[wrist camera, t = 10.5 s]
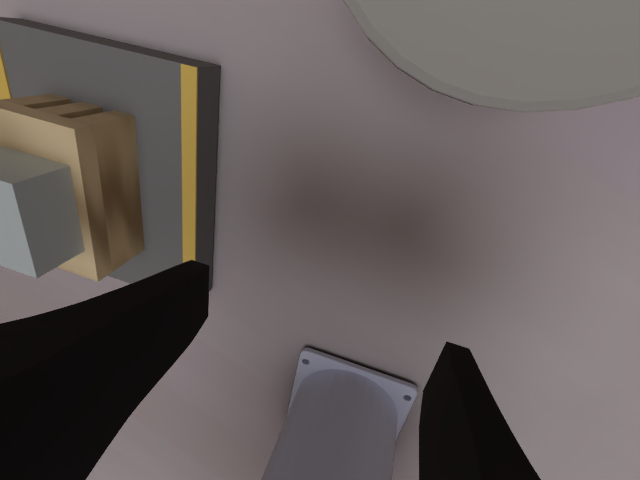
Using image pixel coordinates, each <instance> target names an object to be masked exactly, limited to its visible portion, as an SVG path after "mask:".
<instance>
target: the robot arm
mask: <svg viewBox="0 0 640 480" xmlns="http://www.w3.org/2000/svg"><path fill="white" fill-rule="evenodd" d="M208 303H209V265H206V264H203V263H200V262H197V261H194V260H190V261H187V262H184V263H181V264H179V265H176V266H174V267H171V268H169V269H166V270H164V271H162V272H159V273H157V274H154V275H152V276H149V277H147V278H144V279H142V280H139V281H137V282H134V283H132V284H129V285H127V286H124V287H122V288H119V289H116V290H114V291H111V292H108V293H105V294H102V295H100V296H97V297H94V298H91V299H89V300H86V301H83V302H80V303H77V304H74V305H70V306H67V307H64V308H60V309H57V310H53V311H50V312H46V313H43V314H39V315H36V316H32V317H28V318H23V319H19V320H15V321H10V322H6V323H2V324H0V480H86V478H87V477H88V475H89V474H90V472H91V471H92V469H93V468H94V466H95V465H96V463H97V462H98V460H99V459H100V457H101V456H102V454H103V453H104V451H105V450H106V448H107V447H108V446H109V444H110V443H111V441H112V440H113V439H114V437H115V436H116V434H117V433H118V431H119V430H120V429H121V427H122V426H123V424H124V423H125V422H126V420H127V419H128V417H129V416H130V415H131V414H132V412H133V411H134V410H135V409H136V407H137V406H138V405H139V403H140V402H141V401H142V400H143V399H144V398H145V396H146V395H147V394H148V393H149V392H150V391H151V389H152V388H153V387H154V386H155V385H156V384H157V382H158V381H159V380H160V379H161V378H162V377H163V375H164V374H165V373H166V372H167V371H168V370H169V368H170V367H171V366H172V365H173V364H174V363H175V361H176V360H177V359H178V358H179V357H180V355H181V354H182V353H183V352H184V351H185V350H186V348H187V347H188V346H189V345H190V343H191V342H192V340H193V339H194V337H195V336H196V335H197V333H198V332H199V330H200V328H201V327H202V325H203V324H204V322H205V320H206V319H207V317H208ZM305 359H307V360H308V361H307V360H305ZM417 393H418V389H417V387H416V386H415V385H414V384H412V383H409V382H406V381H403V380H400V379H397V378H394V377H392V376H389V375H386V374H383V373H380V372H377V371H374V370H371V369H369V368H366V367H363V366H360V365H357V364H354V363H351V362H349V361H346V360H343V359H340V358H337V357H334V356H331V355H328V354H326V353H323V352H320V351H317V350H314V349H311V348H307V347H306V348H303V349H302V351H301V353H300V357H299V361H298V366H297V371H296V375H295V380H294V385H293V389H292V394H291V399H290V403H289V408H288V413H287V417H286V420H285V423H284V425H283V428H282V430H281V432H280V435H279V437H278V440H277V442H276V445H275V447H274V450H273V452H272V455H271V457H270V460H269V462H268V464H267V467H266V469H265V472H264V474H263V477H262V479H261V480H392V470H393V461H394V451H395V441H396V438H397V436H398V434H399V432H400V430H401V428H402V426H403V424H404V422H405V420H406V418H407V415H408V413H409V411H410V409H411V407H412V405H413V403H414V401H415V399H416V397H417ZM406 395H409V396H406ZM419 480H541V479H540V478H539V476H538V475H537V473H536V472H535V470H534V468H533V467H532V465H531V464H530V462H529V460H528V459H527V457H526V455H525V454H524V452H523V450H522V449H521V447H520V445H519V444H518V442H517V440H516V438H515V437H514V435H513V433H512V431H511V430H510V428H509V426H508V424H507V422H506V420H505V419H504V417H503V415H502V413H501V411H500V409H499V407H498V406H497V404H496V402H495V400H494V398H493V396H492V394H491V392H490V390H489V388H488V386H487V384H486V382H485V380H484V378H483V376H482V374H481V372H480V370H479V368H478V365H477V363H476V361H475V359H474V357H473V355H472V353H471V351H470V349H468V348H465V347H462V346H459V345H456V344H453V343H449V342H446V344H445V346H444V348H443V350H442V352H441V354H440V356H439V359H438V361H437V363H436V365H435V367H434V369H433V371H432V373H431V375H430V378H429V380H428V382H427V384H426V386H425V388H424V390H423V398H422V405H421V414H420V423H419Z"/></svg>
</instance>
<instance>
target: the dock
mask: <svg viewBox="0 0 640 480" xmlns="http://www.w3.org/2000/svg"><path fill="white" fill-rule="evenodd" d="M219 90H220V65H215V64H211V63H207V62H202V61H198V60H194V59H190V58H185V57H181V56H177V55H173V54H168V53H164V52H160V51H156V50H151V49H147V48H143V47H139V46H134V45H130V44H126V43H122V42H117V41H113V40H109V39H105V38H100V37H96V36H92V35H88V34H83V33H79V32H75V31H71V30H66V29H62V28H58V27H54V26H49V25H45V24H41V23H37V22H32V21H28V20H24V19H19V18H5V17H0V99H9V98H18V97H26V96H35V95H44V94H54V95H58V96H62V97H66V98H69V99H71V103H78V102H84V103H88V104H92V105H96V106H99V107H102V111H103V112H108V111H113V110H114V111H118V112H122V113H126V114H129V115H133V116H135V127H136V141H137V155H138V168H139V182H140V196H141V209H142V223H143V236H144V250H143V251H142V252H141V253H139V254H138V255H136V256H135V257H133V258H132V259H130V260H129V261H127V262H126V263H125V264H123V265H122V266H120V267H119V268H117V269H116V270H114V271H113V272H111V273H110V274H109V275H108V276H110V277H113V278H116V279H119V280H122V281H125V282H128V283H131V284H132V283H134V282H137V281H139V280H142V279H144V278H147V277H149V276H152V275H154V274H157V273H159V272H162V271H164V270H166V269H169V268H171V267H174V266H176V265H179V264H181V263H184V262H187V261H190V260H194V261H197V262H200V263H203V264H206V265H209V291H210V290H211V289H212V270H213V244H214V218H215V193H216V167H217V141H218V116H219Z"/></svg>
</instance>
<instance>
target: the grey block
mask: <svg viewBox="0 0 640 480" xmlns="http://www.w3.org/2000/svg"><path fill="white" fill-rule="evenodd" d="M84 251H85V249H84V243H83V238H82V232H81V226H80V221H79V215H78V209H77V204H76V198H75V192H74V187H73V181H72V175H71V170H70V166H69V165H66V164H62V163H59V162H55V161H52V160H49V159H45V158H42V157H38V156H35V155H31V154H28V153H25V152H21V151H18V150H14V149H11V148H7V147H4V146H3V147H0V265H1V266H3V267H6V268H9V269H12V270H15V271H17V272H20V273H23V274H26V275H29V276H32V277H34V278H38V277H40V276H42V275H44V274H45V273H47V272H49V271H51V270H52V269H54V268H56V267H58V266H59V265H61V264H63V263H65V262H66V261H68V260H70V259H72V258H73V257H75V256H77V255H79V254H80V253H82V252H84Z"/></svg>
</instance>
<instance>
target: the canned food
mask: <svg viewBox="0 0 640 480" xmlns="http://www.w3.org/2000/svg"><path fill="white" fill-rule="evenodd" d="M344 2H345V4H346V5H347V7H348V8H349V10H350V11H351V13H352V14H353V16H354V18H355V19H356V21H357V22H358V24H359V25H360V27H361V29H362V30H363V32H364V33H365V35H366V36H367V38H368V39H369V40H370V41H371V42H372V43H373V44H374V45H375V46H376V47H377V48H378V49H379V50H380V51H381V52H382V53H383V54H384V55H385V56H386V57H387V58H388V59H389V60H390V61H391V62H392V63H393V64H394V65H395V66H396V67H397V68H398V69H399V70H401V71H402V72H404V73H406V74H407V75H409V76H410V77H412V78H413V79H415V80H416V81H418V82H420V83H421V84H423V85H424V86H426V87H427V88H429V89H431V90H433V91H435V92H438V93H441V94H444V95H446V96H449V97H452V98H454V99H457V100H460V101H463V102H465V103H468V104H471V105H478V106H484V107H491V108H498V109H504V110H511V111H519V112H533V111H560V110H577V109H582V108H587V107H592V106H597V105H602V104H606V103H611V102H616V101H621V100H626V99H631V98H635V97H638V96H640V0H344Z"/></svg>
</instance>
